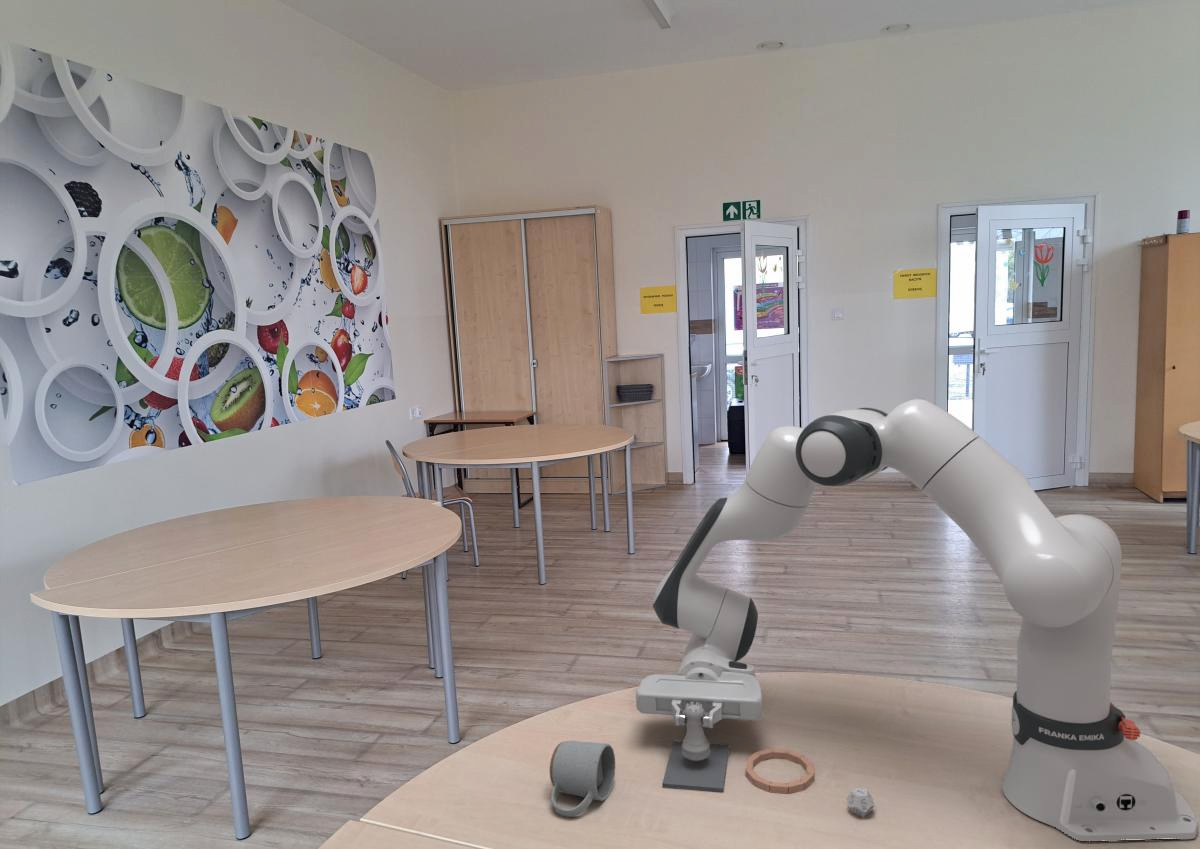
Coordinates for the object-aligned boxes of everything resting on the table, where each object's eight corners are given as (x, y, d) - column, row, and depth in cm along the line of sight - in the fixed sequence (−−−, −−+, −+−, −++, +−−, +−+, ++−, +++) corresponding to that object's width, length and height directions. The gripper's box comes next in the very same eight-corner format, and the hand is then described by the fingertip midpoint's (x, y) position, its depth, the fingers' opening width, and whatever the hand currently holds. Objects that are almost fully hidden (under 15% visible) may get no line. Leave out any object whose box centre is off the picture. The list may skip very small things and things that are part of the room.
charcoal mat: (729, 747, 129) (729, 744, 129) (723, 792, 117) (723, 788, 117) (673, 743, 131) (673, 740, 131) (662, 787, 119) (662, 783, 119)
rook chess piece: (709, 745, 126) (707, 698, 125) (712, 761, 122) (710, 712, 120) (680, 746, 126) (678, 699, 125) (682, 762, 122) (680, 713, 121)
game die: (864, 823, 109) (863, 803, 108) (841, 810, 112) (841, 791, 111) (879, 812, 111) (879, 792, 110) (856, 800, 114) (856, 781, 113)
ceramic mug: (568, 772, 125) (565, 727, 123) (618, 781, 122) (614, 734, 120) (539, 814, 115) (534, 765, 114) (591, 825, 112) (587, 775, 111)
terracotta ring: (812, 757, 125) (812, 751, 125) (814, 795, 115) (814, 789, 115) (747, 752, 127) (747, 746, 127) (744, 789, 117) (744, 783, 117)
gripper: (642, 659, 137) (626, 699, 124) (763, 665, 133) (760, 707, 119) (644, 694, 138) (628, 737, 125) (764, 701, 134) (761, 746, 120)
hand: (693, 722), depth 122 cm, fingers closed on rook chess piece, 3 cm apart
